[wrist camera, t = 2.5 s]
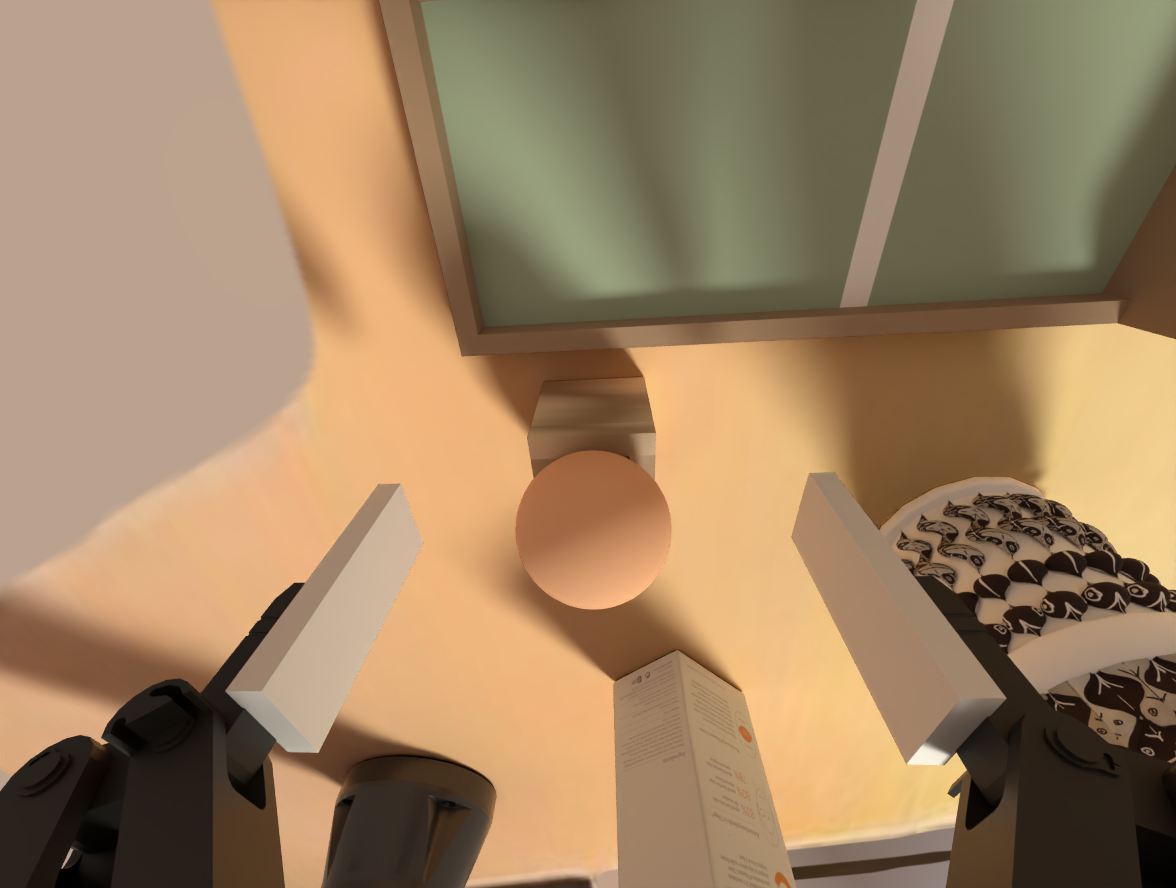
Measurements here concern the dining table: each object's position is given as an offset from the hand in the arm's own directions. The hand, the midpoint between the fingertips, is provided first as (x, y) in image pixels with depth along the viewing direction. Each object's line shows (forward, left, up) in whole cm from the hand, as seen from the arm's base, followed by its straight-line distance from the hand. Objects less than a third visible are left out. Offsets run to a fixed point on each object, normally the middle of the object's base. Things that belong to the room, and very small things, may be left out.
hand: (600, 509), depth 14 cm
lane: (+7, +9, -6) cm, 13 cm away
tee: (0, 0, -6) cm, 6 cm away
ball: (0, 0, 0) cm, 1 cm away
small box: (+5, -23, -7) cm, 25 cm away
